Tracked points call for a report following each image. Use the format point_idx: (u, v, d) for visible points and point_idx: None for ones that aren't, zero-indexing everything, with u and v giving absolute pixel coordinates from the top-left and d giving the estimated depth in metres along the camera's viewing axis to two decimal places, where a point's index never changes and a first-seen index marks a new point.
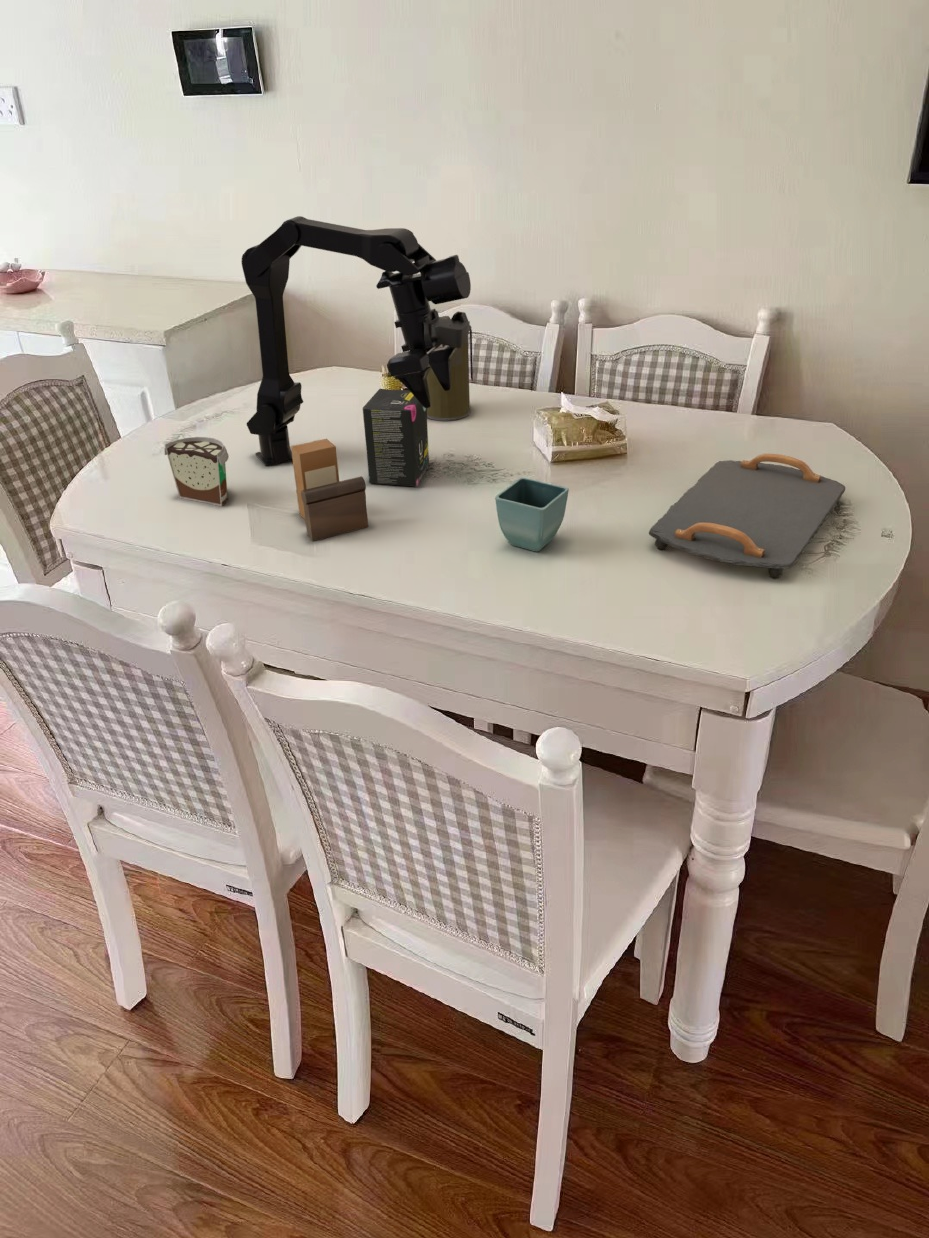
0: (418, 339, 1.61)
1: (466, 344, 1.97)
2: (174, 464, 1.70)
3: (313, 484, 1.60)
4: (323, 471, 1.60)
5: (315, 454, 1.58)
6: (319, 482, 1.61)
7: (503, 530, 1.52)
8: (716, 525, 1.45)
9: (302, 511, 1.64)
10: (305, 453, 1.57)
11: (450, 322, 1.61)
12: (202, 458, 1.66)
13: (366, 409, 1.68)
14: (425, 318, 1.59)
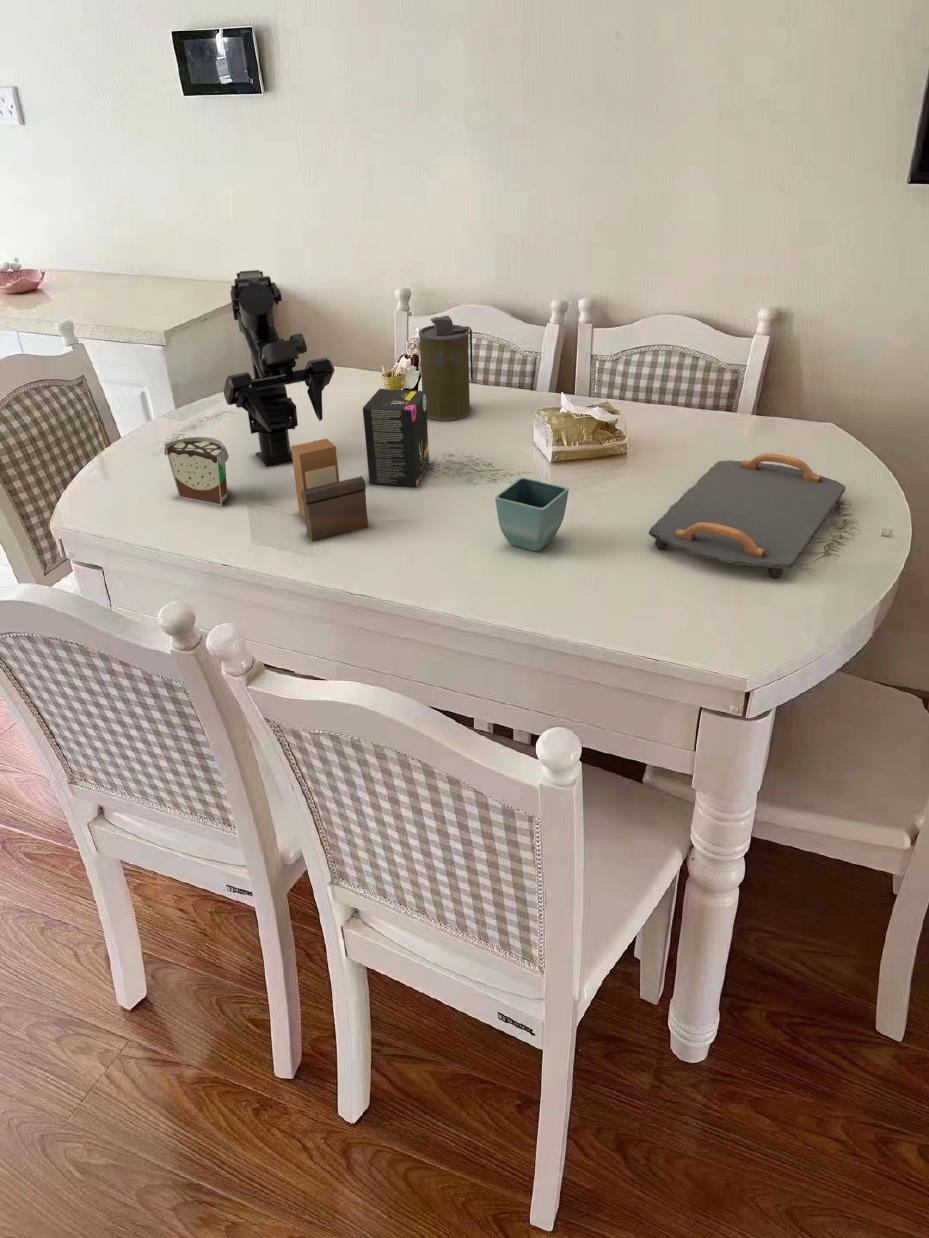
0: (259, 368, 1.65)
1: (466, 344, 1.97)
2: (174, 464, 1.70)
3: (313, 484, 1.60)
4: (323, 471, 1.60)
5: (315, 454, 1.58)
6: (319, 482, 1.61)
7: (503, 530, 1.52)
8: (716, 525, 1.45)
9: (302, 511, 1.64)
10: (305, 453, 1.57)
11: None
12: (202, 458, 1.66)
13: (366, 409, 1.68)
14: (257, 345, 1.63)
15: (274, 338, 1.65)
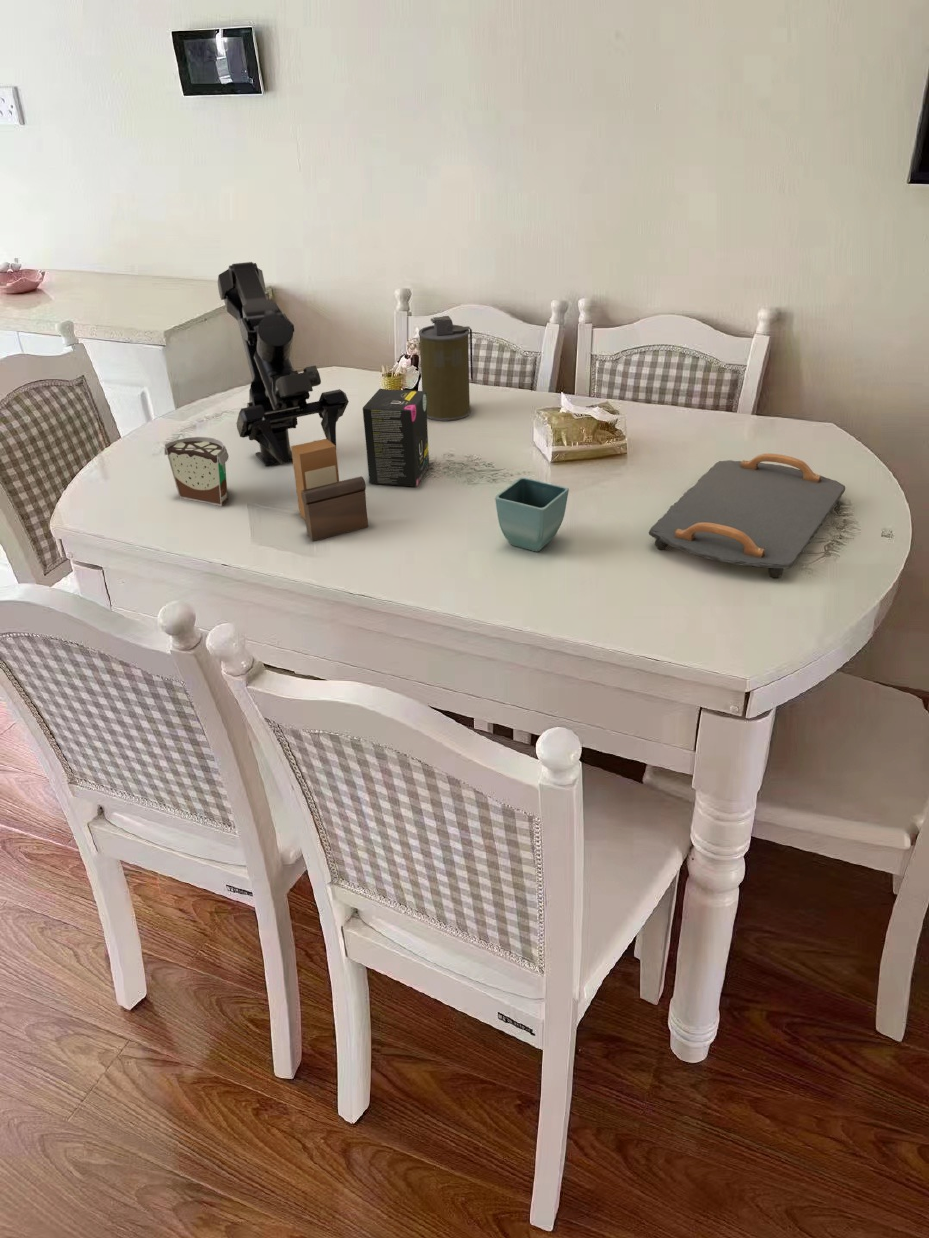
0: (272, 400, 1.63)
1: (466, 344, 1.97)
2: (174, 464, 1.70)
3: (313, 484, 1.60)
4: (323, 471, 1.60)
5: (315, 454, 1.58)
6: (319, 482, 1.61)
7: (503, 530, 1.52)
8: (716, 525, 1.45)
9: (302, 511, 1.64)
10: (305, 453, 1.57)
11: None
12: (202, 458, 1.66)
13: (366, 409, 1.68)
14: (271, 377, 1.61)
15: (288, 370, 1.63)
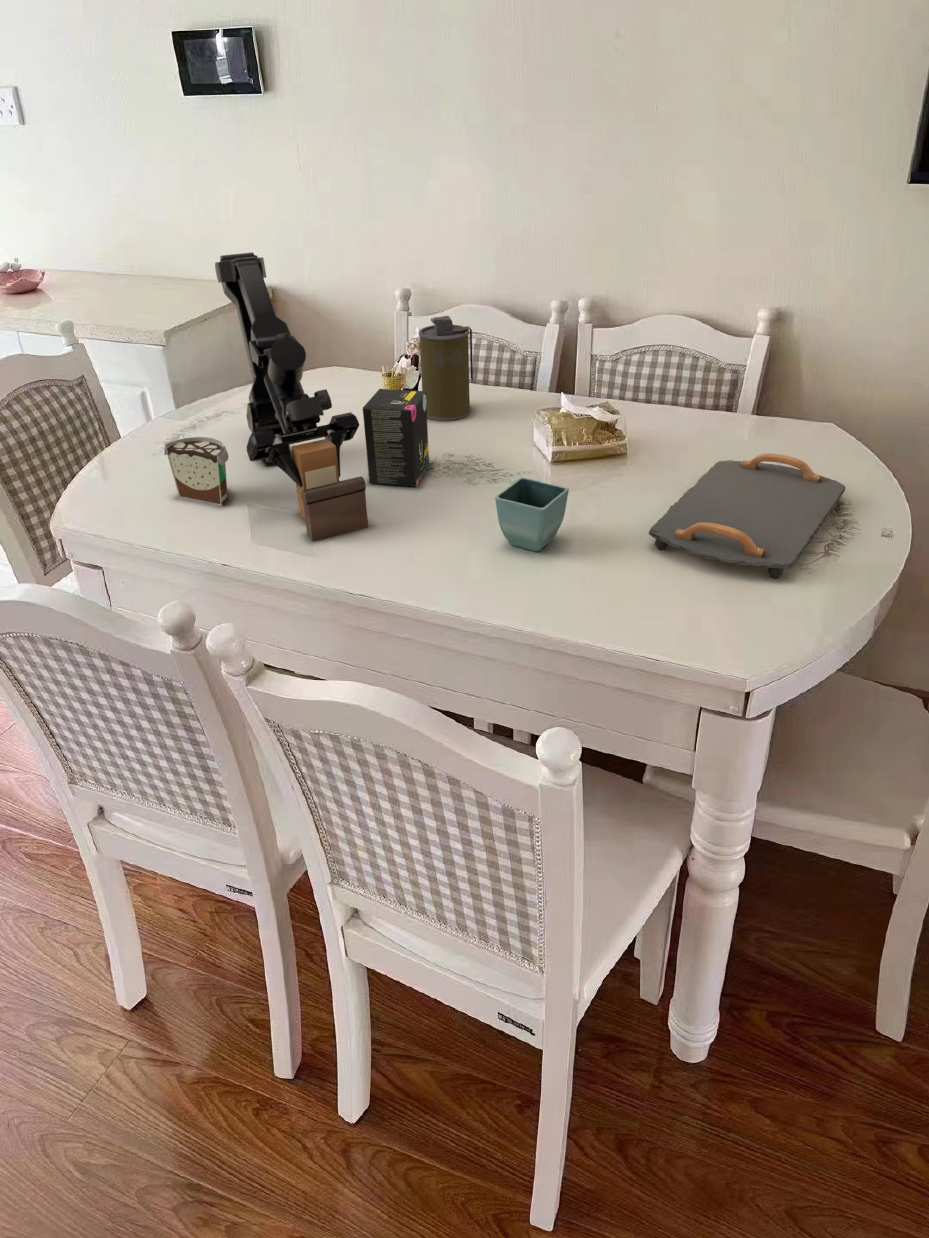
0: (283, 423, 1.61)
1: (466, 344, 1.97)
2: (174, 464, 1.70)
3: (313, 484, 1.60)
4: (323, 471, 1.60)
5: (315, 454, 1.58)
6: (319, 482, 1.61)
7: (503, 530, 1.52)
8: (716, 525, 1.45)
9: (302, 511, 1.64)
10: (306, 453, 1.57)
11: None
12: (202, 458, 1.66)
13: (366, 409, 1.68)
14: (281, 401, 1.60)
15: (298, 393, 1.62)
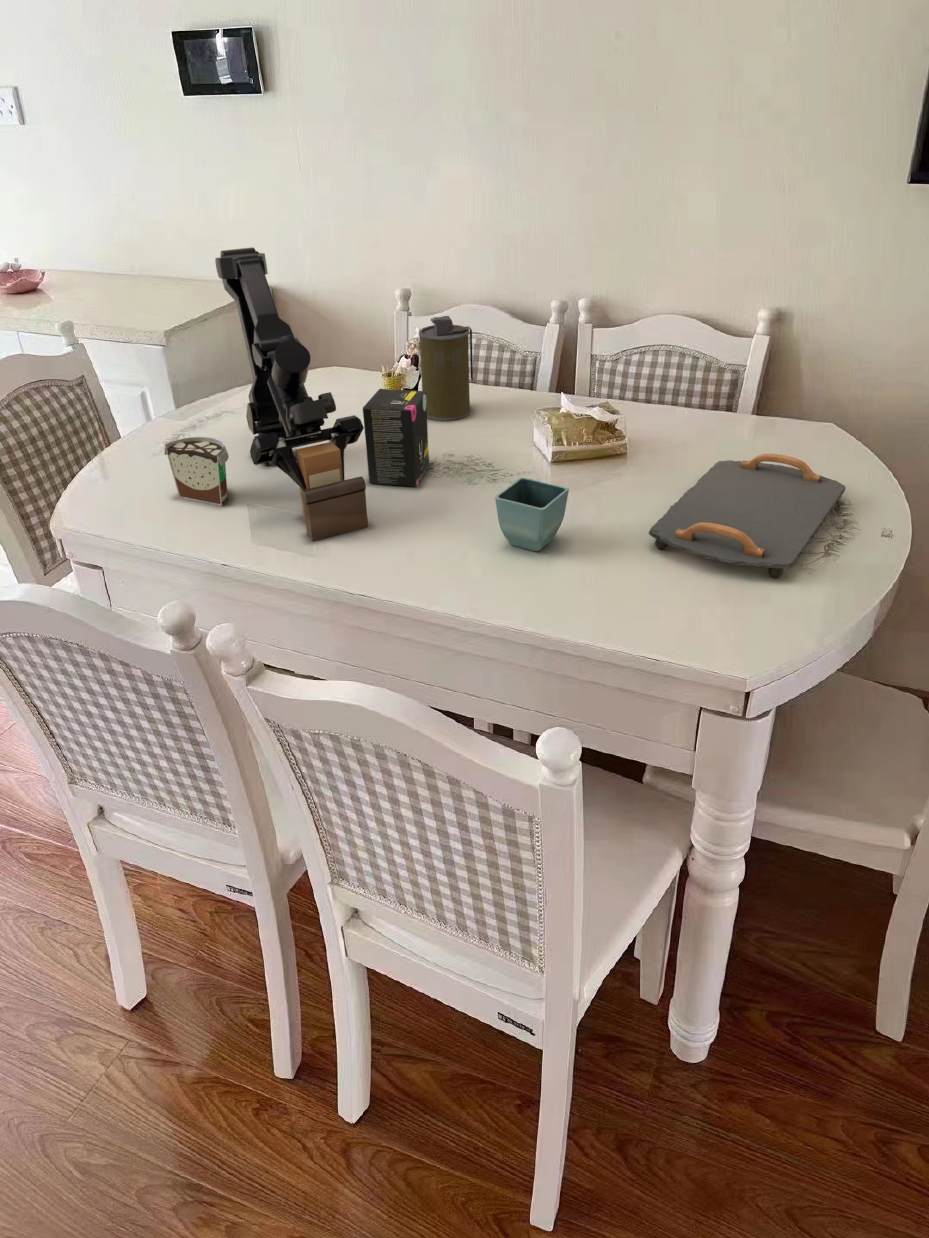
0: (286, 426, 1.60)
1: (466, 344, 1.97)
2: (174, 464, 1.70)
3: None
4: (327, 475, 1.59)
5: (319, 458, 1.57)
6: None
7: (503, 530, 1.52)
8: (716, 525, 1.45)
9: None
10: (310, 457, 1.56)
11: None
12: (202, 458, 1.66)
13: (366, 409, 1.68)
14: (285, 404, 1.59)
15: (302, 396, 1.60)
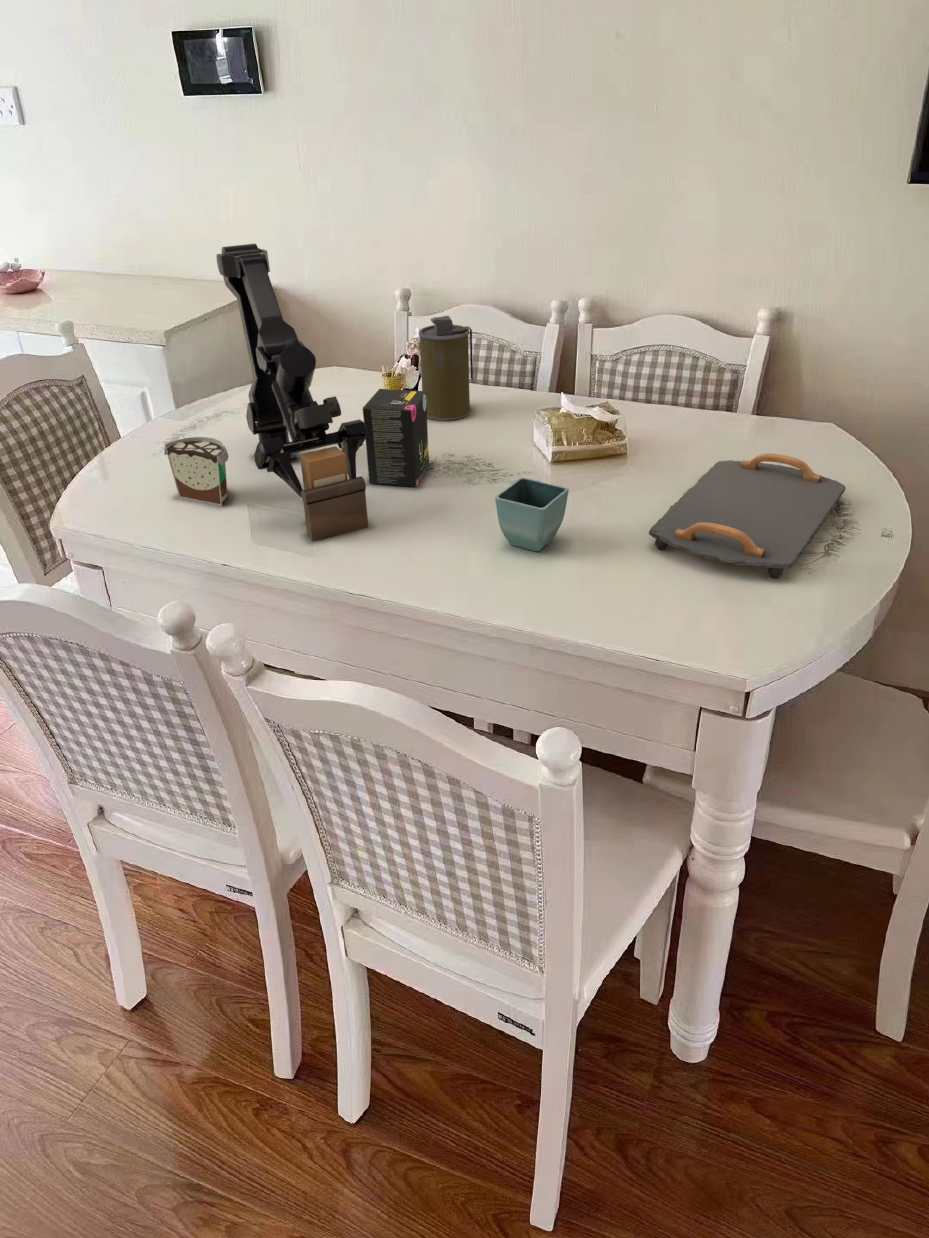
0: (291, 431, 1.59)
1: (466, 344, 1.97)
2: (174, 464, 1.70)
3: None
4: (332, 480, 1.57)
5: (324, 462, 1.55)
6: None
7: (503, 530, 1.52)
8: (716, 525, 1.45)
9: None
10: (315, 462, 1.54)
11: None
12: (202, 458, 1.66)
13: (366, 409, 1.68)
14: (289, 408, 1.57)
15: (307, 400, 1.59)
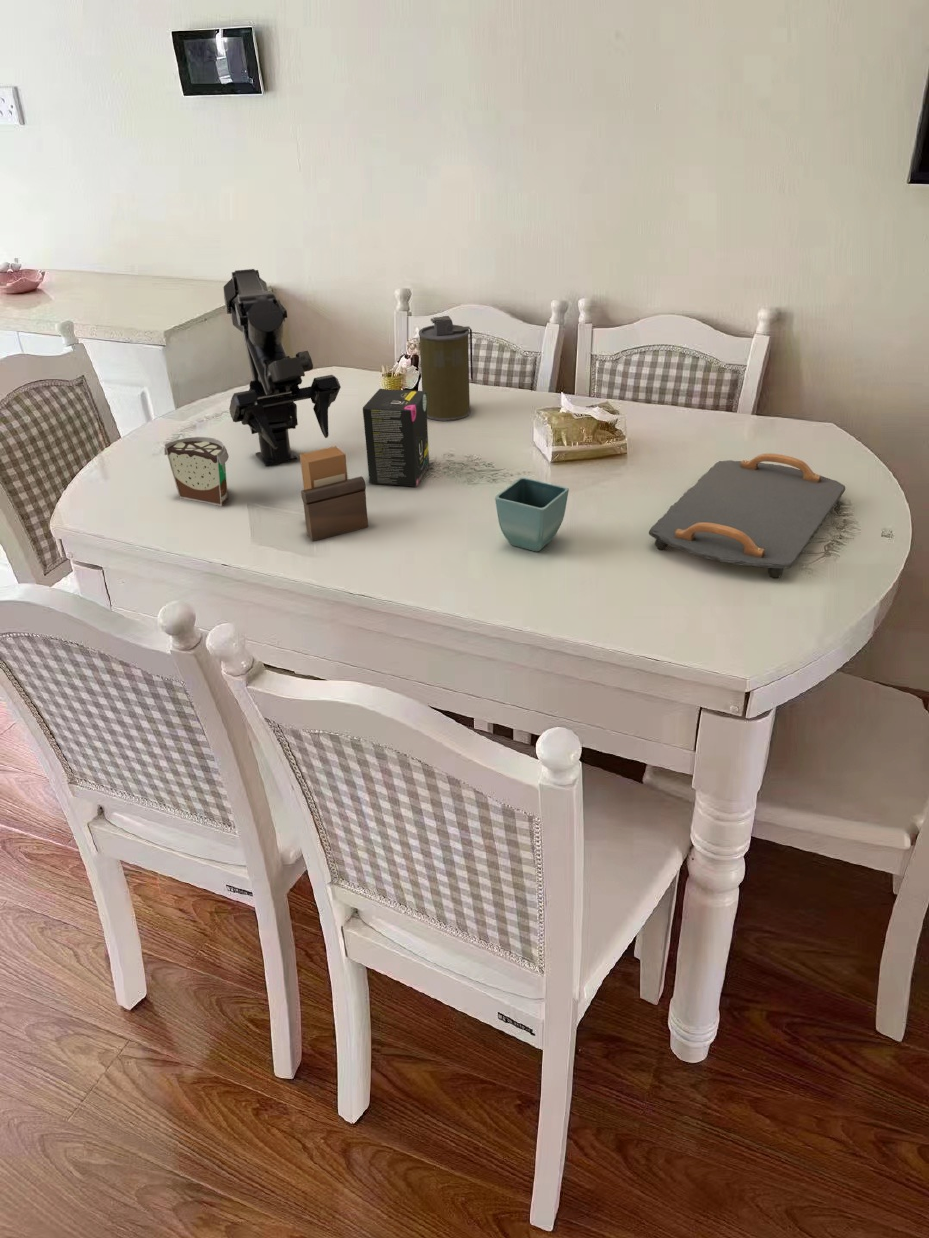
0: (265, 385, 1.64)
1: (466, 344, 1.97)
2: (174, 464, 1.70)
3: None
4: (332, 480, 1.57)
5: (324, 462, 1.55)
6: None
7: (503, 530, 1.52)
8: (716, 525, 1.45)
9: None
10: (315, 462, 1.54)
11: None
12: (202, 458, 1.66)
13: (366, 409, 1.68)
14: (263, 362, 1.63)
15: (280, 355, 1.65)
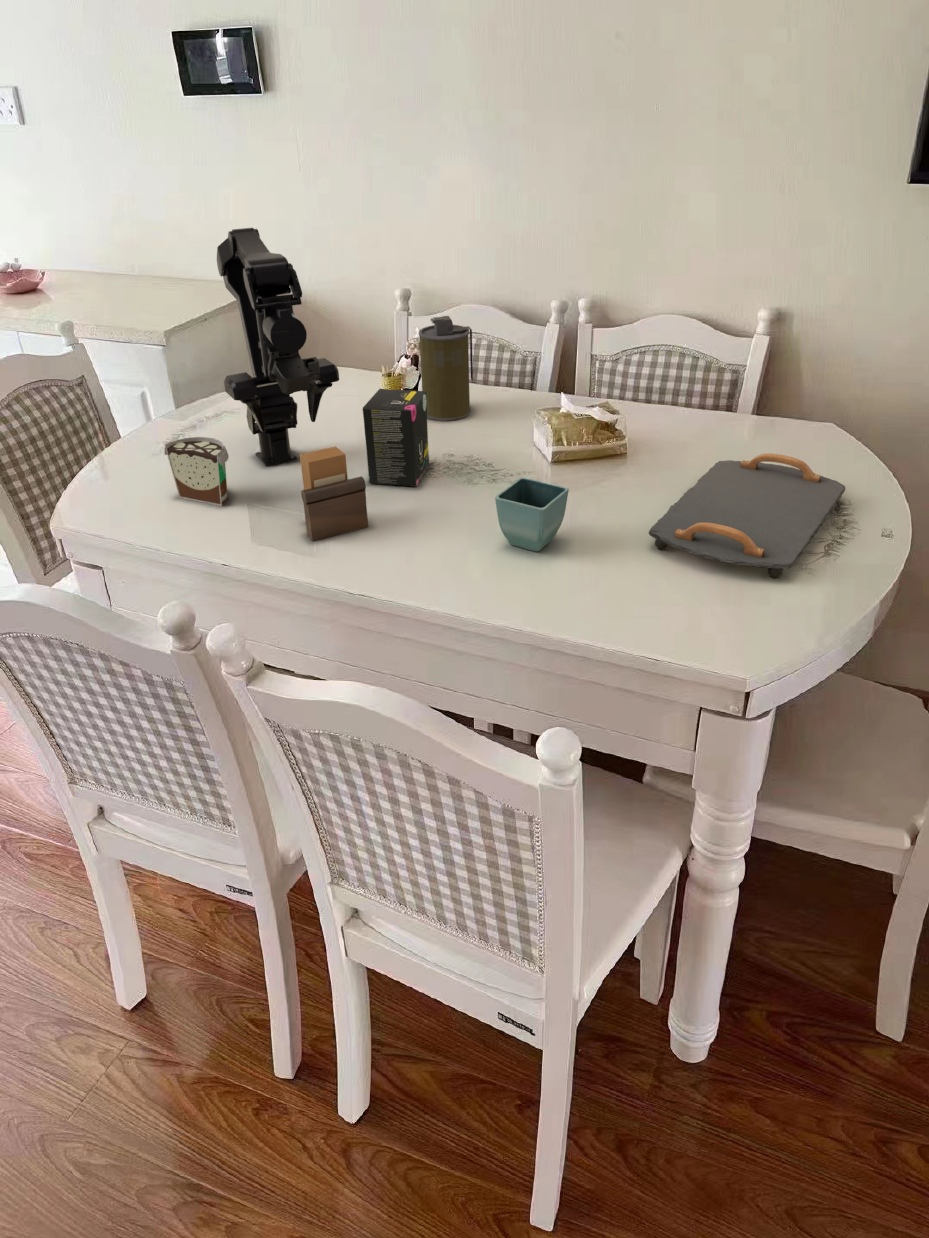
0: (266, 367, 1.61)
1: (466, 344, 1.97)
2: (174, 464, 1.70)
3: None
4: (332, 480, 1.57)
5: (324, 462, 1.55)
6: None
7: (503, 530, 1.52)
8: (716, 525, 1.45)
9: None
10: (315, 462, 1.54)
11: (295, 365, 1.58)
12: (202, 458, 1.66)
13: (366, 409, 1.68)
14: (270, 352, 1.58)
15: None
